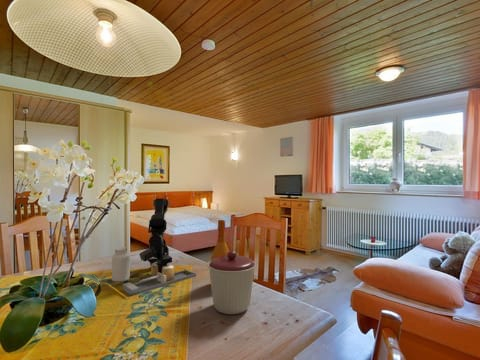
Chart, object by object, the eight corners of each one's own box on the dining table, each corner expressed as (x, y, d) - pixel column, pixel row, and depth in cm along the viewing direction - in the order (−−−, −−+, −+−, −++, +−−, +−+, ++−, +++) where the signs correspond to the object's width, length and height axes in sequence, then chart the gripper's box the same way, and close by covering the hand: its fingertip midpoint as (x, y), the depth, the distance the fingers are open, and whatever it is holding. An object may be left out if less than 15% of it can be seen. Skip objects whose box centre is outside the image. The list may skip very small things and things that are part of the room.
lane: (122, 290, 113) (122, 283, 113) (185, 273, 136) (185, 267, 136) (131, 297, 106) (131, 290, 106) (196, 277, 129) (196, 271, 129)
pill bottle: (107, 281, 124) (108, 249, 124) (121, 275, 131) (121, 245, 132) (120, 283, 121) (120, 251, 121) (133, 277, 128) (133, 247, 129)
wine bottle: (236, 286, 118) (236, 219, 119) (220, 292, 111) (220, 222, 112) (221, 280, 125) (222, 217, 125) (205, 286, 118) (206, 219, 118)
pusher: (136, 286, 116) (136, 278, 116) (158, 279, 124) (159, 272, 124) (143, 290, 111) (143, 281, 111) (166, 283, 119) (166, 275, 119)
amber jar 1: (148, 276, 130) (149, 263, 130) (159, 274, 134) (159, 261, 134) (154, 279, 126) (154, 265, 126) (165, 276, 130) (165, 263, 130)
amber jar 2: (159, 280, 123) (159, 266, 123) (170, 277, 127) (170, 264, 127) (165, 283, 119) (165, 269, 119) (176, 280, 123) (176, 266, 123)
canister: (263, 316, 91) (263, 255, 92) (212, 324, 86) (212, 259, 87) (247, 295, 109) (247, 244, 109) (203, 300, 104) (204, 247, 104)
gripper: (133, 242, 131) (132, 273, 131) (151, 248, 118) (150, 283, 118) (153, 239, 139) (153, 268, 139) (172, 244, 126) (172, 277, 126)
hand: (157, 274), depth 130 cm, fingers closed on amber jar 1, 6 cm apart
